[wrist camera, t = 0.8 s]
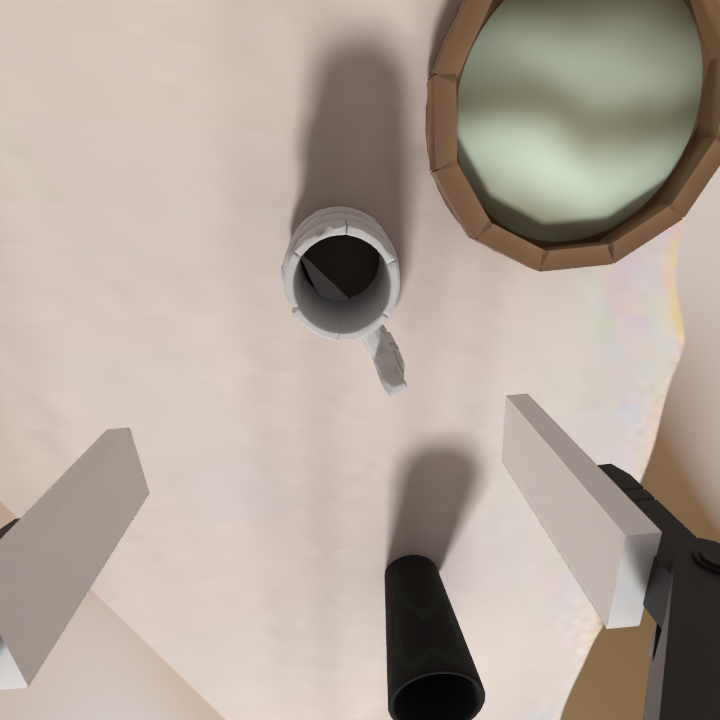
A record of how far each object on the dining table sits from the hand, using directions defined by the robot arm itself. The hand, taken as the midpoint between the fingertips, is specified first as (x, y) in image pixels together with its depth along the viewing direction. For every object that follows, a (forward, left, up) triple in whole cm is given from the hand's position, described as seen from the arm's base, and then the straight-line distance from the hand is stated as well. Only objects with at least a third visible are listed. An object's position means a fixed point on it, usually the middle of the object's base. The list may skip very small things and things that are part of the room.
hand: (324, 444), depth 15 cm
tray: (-12, +18, -20) cm, 29 cm away
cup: (+29, +5, -20) cm, 36 cm away
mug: (-2, +2, -20) cm, 20 cm away
